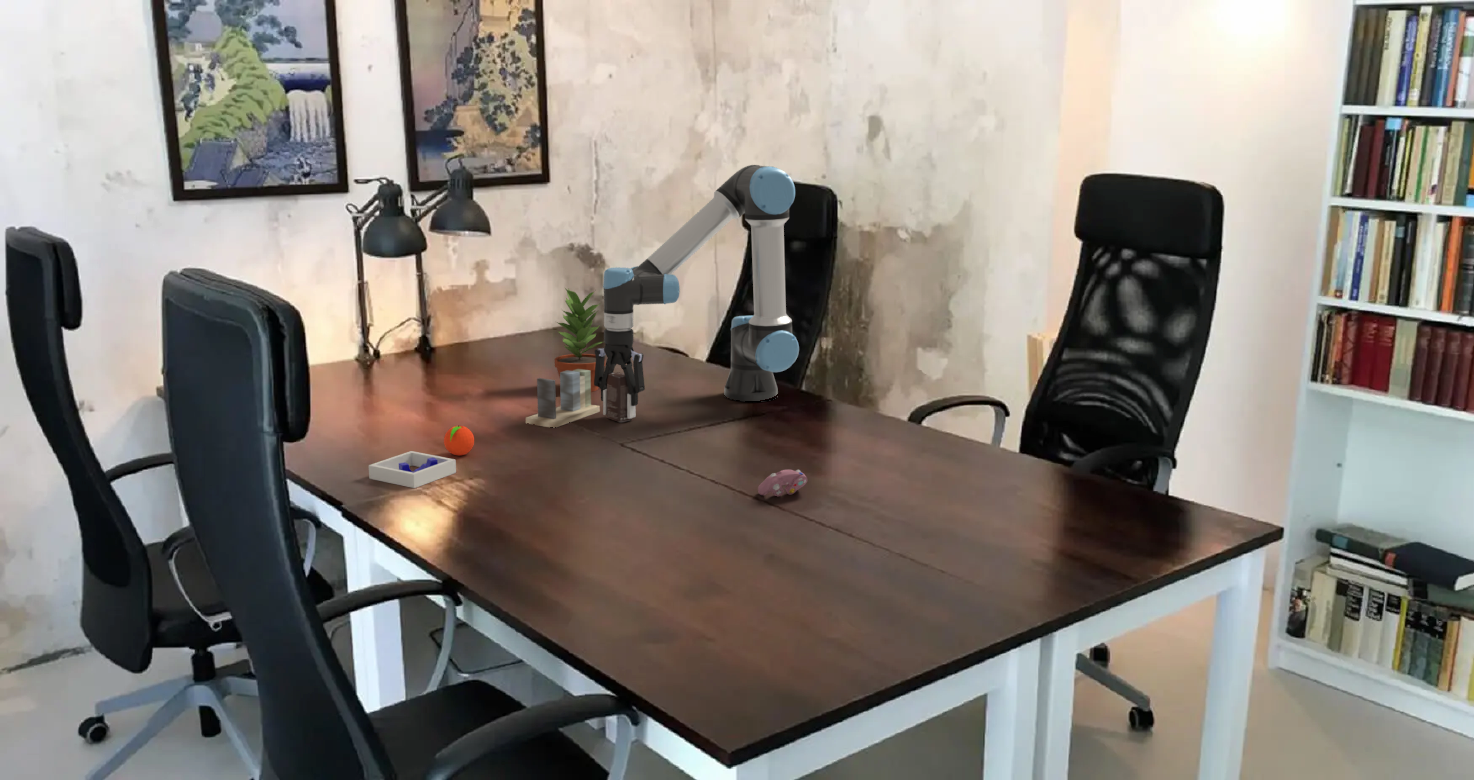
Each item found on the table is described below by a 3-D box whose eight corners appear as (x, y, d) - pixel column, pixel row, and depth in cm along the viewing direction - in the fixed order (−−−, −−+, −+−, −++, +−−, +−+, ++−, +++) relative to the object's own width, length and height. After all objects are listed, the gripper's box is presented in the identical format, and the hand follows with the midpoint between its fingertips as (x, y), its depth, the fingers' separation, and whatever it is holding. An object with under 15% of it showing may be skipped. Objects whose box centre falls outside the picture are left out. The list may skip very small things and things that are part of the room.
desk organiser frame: (456, 472, 265) (455, 459, 264) (414, 488, 254) (413, 474, 253) (411, 463, 271) (411, 450, 270) (369, 478, 260) (368, 465, 259)
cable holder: (431, 473, 265) (430, 455, 264) (438, 477, 262) (437, 459, 262) (396, 479, 260) (395, 461, 260) (403, 483, 258) (402, 465, 257)
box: (633, 420, 311) (632, 375, 309) (618, 423, 309) (618, 377, 306) (620, 415, 316) (619, 371, 313) (605, 418, 313) (605, 373, 310)
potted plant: (617, 387, 348) (616, 284, 341) (583, 397, 335) (582, 290, 328) (577, 380, 355) (576, 279, 349) (543, 390, 343) (541, 286, 336)
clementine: (465, 461, 274) (464, 431, 272) (437, 459, 275) (435, 429, 273) (479, 452, 281) (478, 422, 280) (452, 449, 283) (450, 420, 281)
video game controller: (764, 505, 251) (772, 481, 247) (754, 491, 254) (762, 466, 250) (804, 499, 256) (813, 475, 251) (795, 484, 259) (803, 460, 254)
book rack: (599, 411, 320) (599, 369, 317) (554, 428, 303) (553, 383, 300) (572, 407, 324) (571, 365, 321) (525, 423, 307) (524, 379, 304)
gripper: (578, 326, 308) (579, 413, 313) (643, 334, 299) (643, 423, 304) (595, 322, 315) (596, 407, 320) (659, 330, 305) (659, 417, 311)
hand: (619, 415), depth 312 cm, fingers closed on box, 7 cm apart
